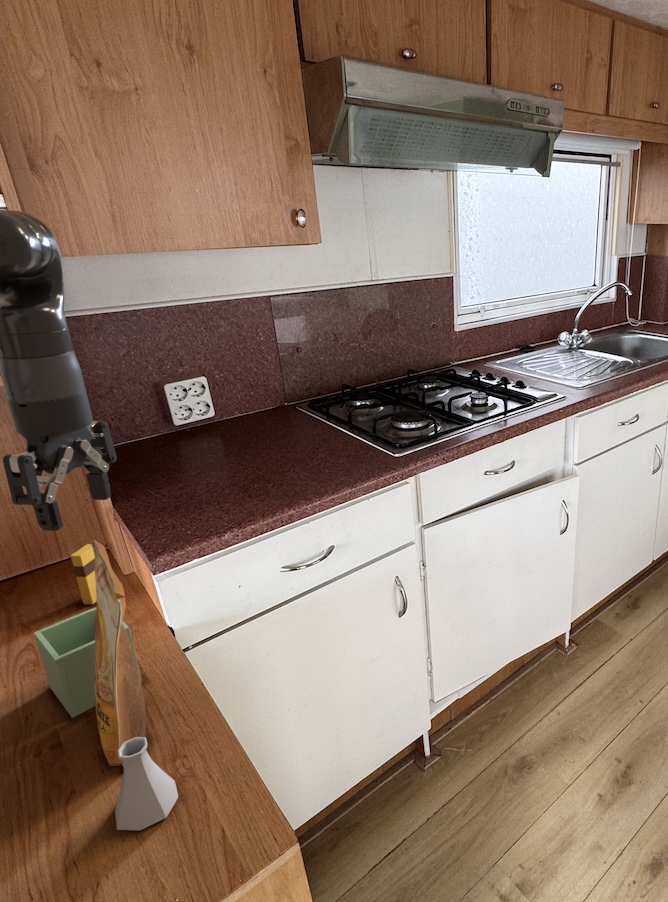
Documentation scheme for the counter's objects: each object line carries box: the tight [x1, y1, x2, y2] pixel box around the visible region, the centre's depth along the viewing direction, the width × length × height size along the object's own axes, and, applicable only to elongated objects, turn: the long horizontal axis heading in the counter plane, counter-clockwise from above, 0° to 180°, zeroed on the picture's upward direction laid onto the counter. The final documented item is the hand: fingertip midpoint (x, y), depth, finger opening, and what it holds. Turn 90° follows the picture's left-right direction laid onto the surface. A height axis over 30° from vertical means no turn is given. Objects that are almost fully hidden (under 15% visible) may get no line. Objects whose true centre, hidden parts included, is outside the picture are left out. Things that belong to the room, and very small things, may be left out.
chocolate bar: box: [70, 543, 96, 605], centre depth 115 cm, size 2×5×11 cm, turn 177°
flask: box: [114, 736, 179, 831], centre depth 73 cm, size 7×7×10 cm
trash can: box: [33, 606, 143, 719], centre depth 93 cm, size 10×10×11 cm
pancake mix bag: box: [89, 539, 147, 769], centre depth 82 cm, size 7×19×28 cm, turn 34°
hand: (78, 513), depth 74 cm, fingers open, 8 cm apart
